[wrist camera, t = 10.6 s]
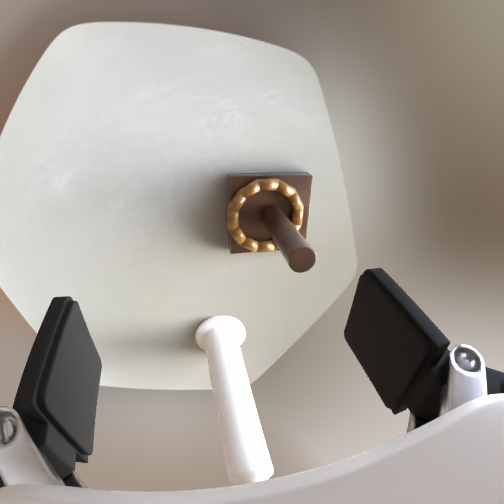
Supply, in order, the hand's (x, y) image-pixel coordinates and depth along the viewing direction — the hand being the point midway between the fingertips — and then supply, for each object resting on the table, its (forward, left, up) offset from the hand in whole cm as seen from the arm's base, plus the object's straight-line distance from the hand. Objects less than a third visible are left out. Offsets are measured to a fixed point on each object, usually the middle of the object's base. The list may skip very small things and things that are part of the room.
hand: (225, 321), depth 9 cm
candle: (+24, +2, -24) cm, 34 cm away
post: (+6, +8, -24) cm, 26 cm away
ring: (+6, +7, -22) cm, 24 cm away
